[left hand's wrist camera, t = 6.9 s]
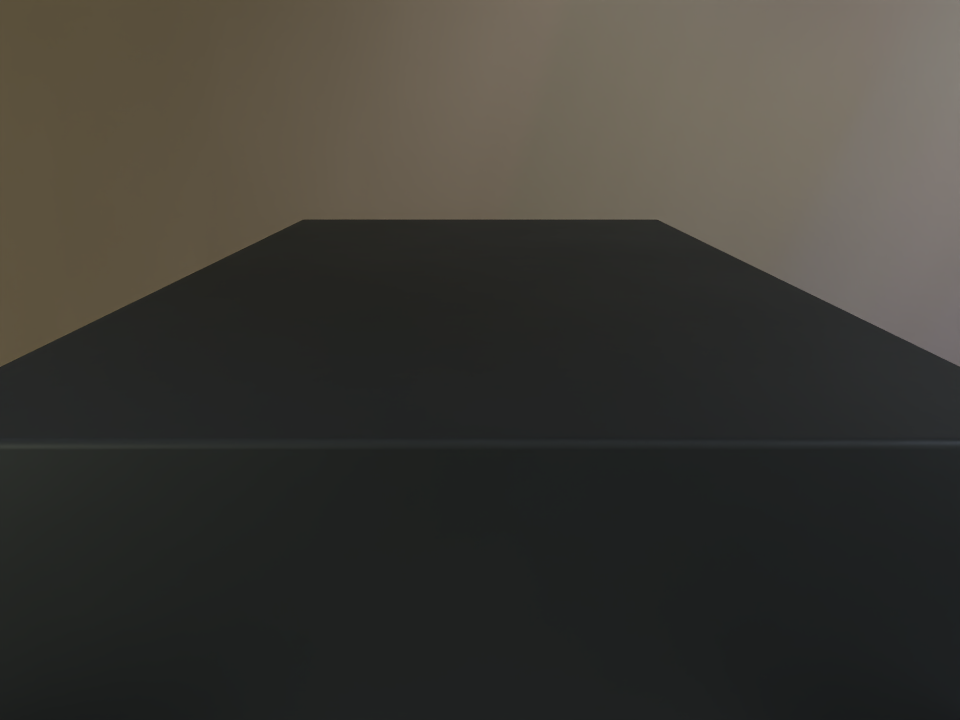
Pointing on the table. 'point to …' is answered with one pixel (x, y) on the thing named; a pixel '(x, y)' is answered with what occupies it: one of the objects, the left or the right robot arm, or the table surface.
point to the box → (480, 490)
